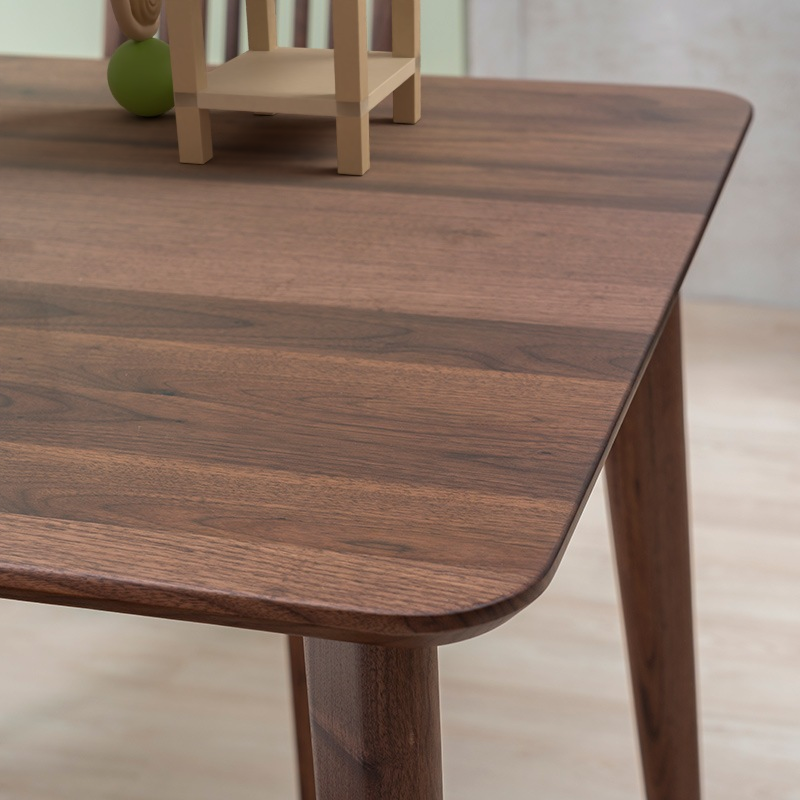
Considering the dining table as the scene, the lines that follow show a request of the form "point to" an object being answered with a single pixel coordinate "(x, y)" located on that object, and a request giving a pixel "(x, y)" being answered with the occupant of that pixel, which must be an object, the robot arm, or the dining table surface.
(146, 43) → the snail figurine
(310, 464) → the dining table surface
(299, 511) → the dining table surface
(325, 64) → the rack
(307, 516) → the dining table surface
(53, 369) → the dining table surface
